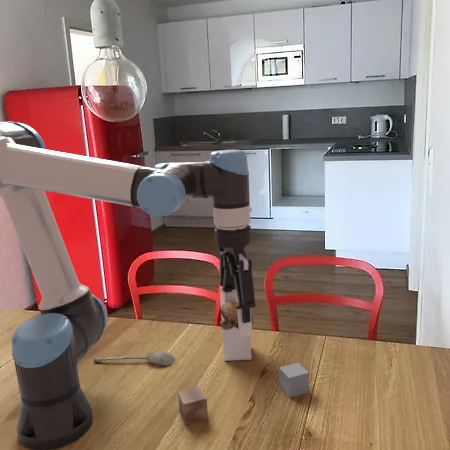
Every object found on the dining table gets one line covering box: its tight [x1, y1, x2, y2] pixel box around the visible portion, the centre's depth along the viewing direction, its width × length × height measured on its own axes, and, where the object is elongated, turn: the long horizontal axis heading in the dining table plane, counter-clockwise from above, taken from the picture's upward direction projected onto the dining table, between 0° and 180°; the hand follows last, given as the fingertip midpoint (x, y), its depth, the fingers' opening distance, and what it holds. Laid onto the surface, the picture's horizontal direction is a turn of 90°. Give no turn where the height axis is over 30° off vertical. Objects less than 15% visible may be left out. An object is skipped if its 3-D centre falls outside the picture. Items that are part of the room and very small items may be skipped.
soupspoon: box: [93, 350, 176, 367], centre depth 129 cm, size 22×3×7 cm
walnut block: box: [177, 386, 209, 426], centre depth 104 cm, size 5×5×5 cm
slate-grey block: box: [278, 362, 310, 398], centre depth 111 cm, size 5×5×5 cm
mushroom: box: [219, 301, 254, 330], centre depth 106 cm, size 8×8×6 cm
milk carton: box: [219, 286, 253, 362], centre depth 127 cm, size 7×7×19 cm
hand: (238, 326), depth 106 cm, fingers closed on mushroom, 8 cm apart
